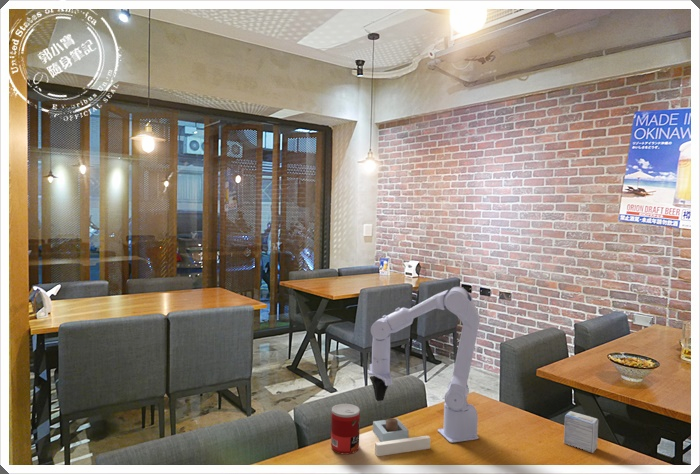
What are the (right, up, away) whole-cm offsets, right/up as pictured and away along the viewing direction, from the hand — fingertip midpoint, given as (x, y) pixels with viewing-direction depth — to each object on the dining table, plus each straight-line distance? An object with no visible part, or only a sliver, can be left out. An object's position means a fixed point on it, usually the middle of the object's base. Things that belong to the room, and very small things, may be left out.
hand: (379, 400), depth 142 cm
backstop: (+5, -8, -17) cm, 19 cm away
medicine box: (+57, -9, -12) cm, 59 cm away
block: (+3, -8, -8) cm, 12 cm away
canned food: (-11, -8, -16) cm, 21 cm away
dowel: (+3, -8, -9) cm, 12 cm away
